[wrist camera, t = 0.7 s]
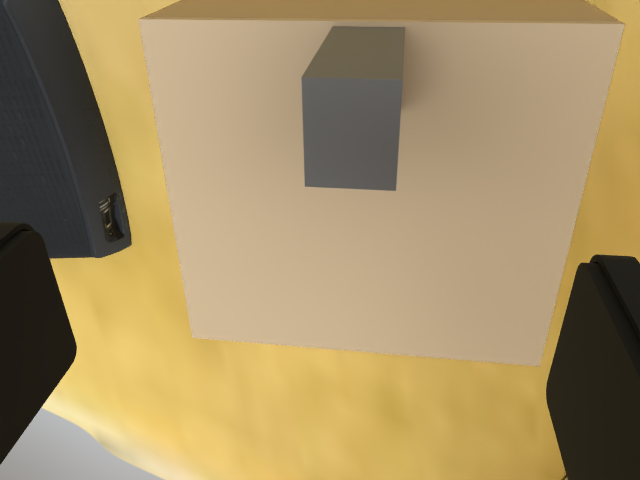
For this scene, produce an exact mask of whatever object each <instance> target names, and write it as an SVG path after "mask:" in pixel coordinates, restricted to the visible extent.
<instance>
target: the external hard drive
mask: <svg viewBox="0 0 640 480" xmlns="http://www.w3.org/2000/svg"><path fill="white" fill-rule="evenodd" d="M0 222H14V223H27V224H29V225H31V226H32V228H33V229H34V230H35V232H38V233H39V234H40V235H41V236H42V238H43V240H44V243H45V246H46V250H47V253H48V256H49V258H85V257H95V258H102V257H105V256H108V255H111V254H114V253H116V252H119V251H121V250H123V249H125V248H127V247H130V246H131V234H130V228H129V223H128V217H127V212H126V208H125V203H124V198H123V194H122V190H121V186H120V181H119V178H118V173H117V170H116V166H115V162H114V159H113V155H112V151H111V148H110V145H109V141H108V137H107V134H106V131H105V128H104V124H103V121H102V118H101V114H100V112H99V108H98V105H97V102H96V100H95V97H94V93H93V90H92V88H91V85H90V82H89V79H88V76H87V73H86V71H85V68H84V65H83V62H82V59H81V57H80V54H79V52H78V49H77V46H76V44H75V41H74V38H73V36H72V33H71V31H70V28H69V25H68V23H67V21H66V18H65V16H64V13H63V11H62V9H61V6H60V4H59V2H58V0H0Z"/></svg>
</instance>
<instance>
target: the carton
mask: <svg viewBox="0 0 640 480" xmlns="http://www.w3.org/2000/svg"><path fill="white" fill-rule="evenodd" d="M145 17H217V18H323V19H429V20H534V21H619V20H617V19H615V18H614V17H612V16H610V15H608V14H607V13H605V12H603V11H602V10H600V9H598V8H596V7H595V6H593V5H591V4H590V3H588V2H586V1H585V0H181V1H179V2H176V3H174V4H172V5H170V6H167V7H165V8H163V9H161V10H158V11H156V12H154V13H151V14H149V15H147V16H145Z"/></svg>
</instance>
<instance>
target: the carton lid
mask: <svg viewBox="0 0 640 480" xmlns="http://www.w3.org/2000/svg"><path fill="white" fill-rule="evenodd" d="M139 25H140V31H141V37H142V43H143V49H144V55H145V61H146V67H147V73H148V79H149V85H150V90H151V96H152V102H153V108H154V114H155V120H156V126H157V132H158V138H159V144H160V150H161V156H162V162H163V168H164V173H165V179H166V185H167V191H168V197H169V203H170V209H171V215H172V221H173V227H174V233H175V239H176V245H177V251H178V256H179V262H180V268H181V274H182V280H183V286H184V292H185V298H186V304H187V310H188V316H189V322H190V328H191V333H192V338H200V339H212V340H224V341H237V342H249V343H261V344H273V345H285V346H297V347H310V348H322V349H334V350H346V351H358V352H371V353H383V354H395V355H407V356H419V357H431V358H444V359H456V360H468V361H480V362H492V363H504V364H517V365H529V366H540V364H541V360H542V356H543V352H544V348H545V344H546V340H547V336H548V332H549V328H550V324H551V319H552V315H553V311H554V307H555V303H556V299H557V295H558V291H559V287H560V283H561V279H562V275H563V271H564V267H565V263H566V259H567V255H568V251H569V247H570V243H571V239H572V235H573V231H574V227H575V223H576V219H577V215H578V211H579V207H580V203H581V199H582V195H583V191H584V187H585V183H586V179H587V175H588V171H589V167H590V162H591V158H592V154H593V150H594V146H595V142H596V138H597V134H598V130H599V126H600V122H601V118H602V114H603V110H604V106H605V102H606V98H607V94H608V90H609V86H610V82H611V78H612V74H613V70H614V66H615V62H616V58H617V54H618V50H619V46H620V42H621V38H622V34H623V30H624V26H625V24H624V23H622V22H620V21H534V20H429V19H323V18H217V17H142V18H140V19H139Z"/></svg>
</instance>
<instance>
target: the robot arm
mask: <svg viewBox="0 0 640 480" xmlns="http://www.w3.org/2000/svg"><path fill="white" fill-rule="evenodd" d="M76 350H77V346H76V342H75V338H74V335H73V332H72V329H71V326H70V323H69V319H68V316H67V313H66V310H65V307H64V303H63V300H62V297H61V294H60V291H59V288H58V284H57V281H56V278H55V275H54V272H53V269H52V265H51V262H50V259H49V256H48V253H47V250H46V246H45V243H44V240H43V238H42V236H41V235H40V234H39V233H38V232H35V230H34V229H33V228H32V226H31V225H29V224H27V223H14V222H0V464H1V463H2V462H3V460H4V459H5V457H6V456H7V454H8V453H9V452H10V450H11V449H12V448H13V446H14V445H15V443H16V442H17V441H18V439H19V438H20V436H21V435H22V434H23V432H24V430H25V429H26V428H27V427H28V425H29V424H30V422H31V421H32V420H33V418H34V417H35V415H36V414H37V413H38V411H39V410H40V408H41V407H42V406H43V404H44V403H45V401H46V400H47V399H48V397H49V396H50V394H51V393H52V392H53V390H54V389H55V387H56V386H57V385H58V383H59V382H60V380H61V379H62V378H63V376H64V375H65V373H66V372H67V371H68V369H69V368H70V366H71V365H72V363H73V362H74V359H75V356H76ZM546 398H547V404H548V408H549V412H550V416H551V419H552V423H553V427H554V430H555V434H556V438H557V441H558V445H559V449H560V452H561V456H562V460H563V463H564V467H565V471H566V475H567V477H566V478H565V480H640V264H639V262H638V261H637V259H636V258H635V257H631V256H613V255H594V256H593V257H592V259H591V260H590V263H581V264H580V265H579V266H578V269H577V271H576V275H575V279H574V283H573V287H572V290H571V294H570V298H569V302H568V305H567V309H566V313H565V317H564V321H563V324H562V328H561V332H560V336H559V339H558V343H557V347H556V351H555V354H554V358H553V362H552V366H551V370H550V373H549V377H548V381H547V388H546Z"/></svg>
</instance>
